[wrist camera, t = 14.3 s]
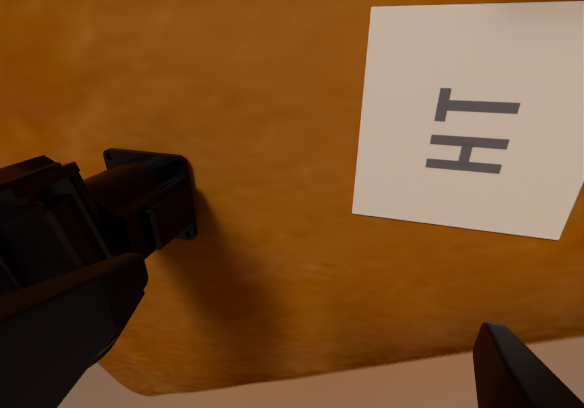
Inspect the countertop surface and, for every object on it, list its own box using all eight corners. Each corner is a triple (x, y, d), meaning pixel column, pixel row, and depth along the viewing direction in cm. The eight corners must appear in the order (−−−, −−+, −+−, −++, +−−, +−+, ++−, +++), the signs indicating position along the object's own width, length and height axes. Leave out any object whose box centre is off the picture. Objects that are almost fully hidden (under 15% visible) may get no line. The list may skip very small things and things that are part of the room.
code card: (352, 212, 20) (351, 213, 20) (371, 7, 15) (371, 6, 15) (557, 239, 17) (558, 240, 17) (660, -1, 13) (662, -1, 13)
